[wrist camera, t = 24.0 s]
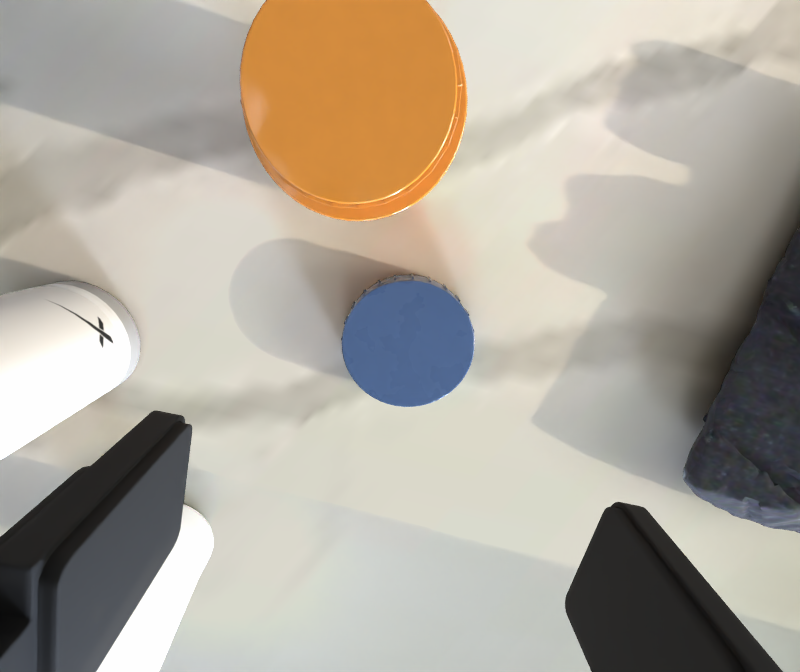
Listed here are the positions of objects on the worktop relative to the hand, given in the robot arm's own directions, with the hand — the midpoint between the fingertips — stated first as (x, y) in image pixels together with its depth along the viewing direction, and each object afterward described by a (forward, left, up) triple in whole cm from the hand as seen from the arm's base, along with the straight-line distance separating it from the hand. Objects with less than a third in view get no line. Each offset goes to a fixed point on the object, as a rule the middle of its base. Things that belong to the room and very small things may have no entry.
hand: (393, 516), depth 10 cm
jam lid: (+1, 0, -14) cm, 14 cm away
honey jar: (-3, +9, -15) cm, 18 cm away
